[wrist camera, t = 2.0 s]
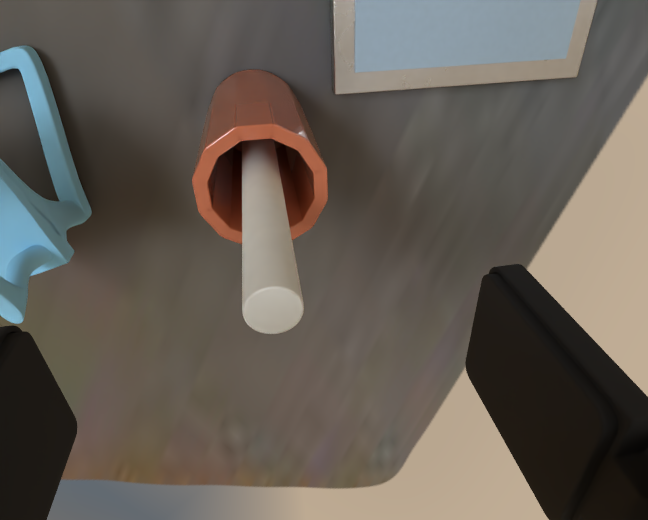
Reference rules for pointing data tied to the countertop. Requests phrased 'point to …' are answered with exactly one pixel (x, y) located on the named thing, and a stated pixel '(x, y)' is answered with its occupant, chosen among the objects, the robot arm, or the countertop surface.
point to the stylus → (267, 244)
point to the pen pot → (254, 124)
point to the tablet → (454, 42)
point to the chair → (36, 195)
